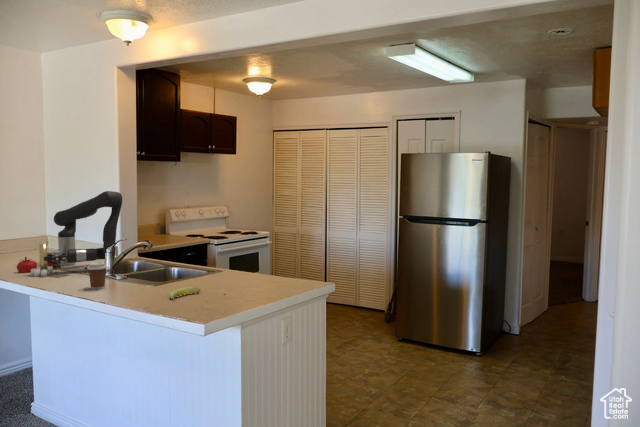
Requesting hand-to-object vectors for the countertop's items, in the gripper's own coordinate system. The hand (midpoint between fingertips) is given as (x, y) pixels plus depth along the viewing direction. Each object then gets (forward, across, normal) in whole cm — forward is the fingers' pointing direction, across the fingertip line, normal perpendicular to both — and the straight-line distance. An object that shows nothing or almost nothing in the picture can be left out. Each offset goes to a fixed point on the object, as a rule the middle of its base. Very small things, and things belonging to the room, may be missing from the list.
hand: (43, 257), depth 271 cm
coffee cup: (-22, +44, +10) cm, 50 cm away
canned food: (-5, -17, +10) cm, 21 cm away
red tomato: (+8, -15, +10) cm, 20 cm away
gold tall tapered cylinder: (0, 0, +9) cm, 9 cm away
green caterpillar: (-54, +83, +11) cm, 99 cm away
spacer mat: (0, 0, +10) cm, 10 cm away
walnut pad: (-7, +8, +10) cm, 15 cm away
